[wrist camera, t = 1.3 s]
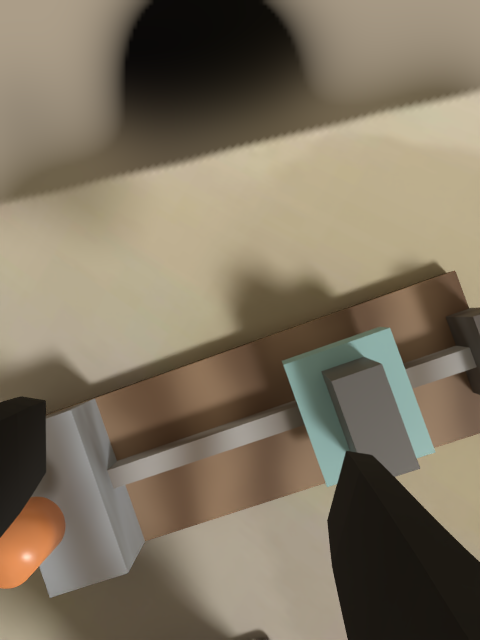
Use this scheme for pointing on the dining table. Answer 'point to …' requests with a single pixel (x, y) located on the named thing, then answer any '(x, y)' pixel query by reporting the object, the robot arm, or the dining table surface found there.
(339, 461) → the carriage
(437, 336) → the rail board
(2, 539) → the button
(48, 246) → the dining table surface
